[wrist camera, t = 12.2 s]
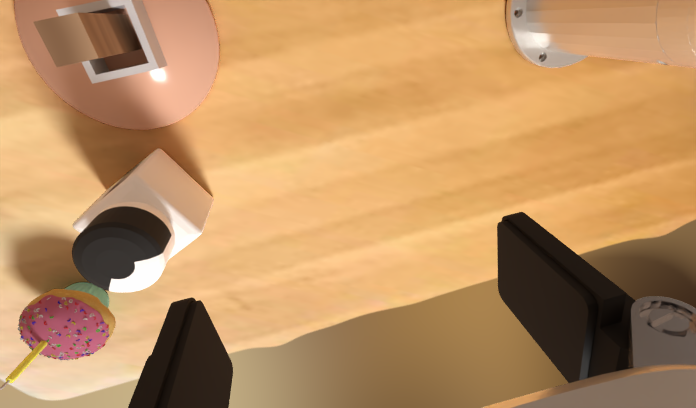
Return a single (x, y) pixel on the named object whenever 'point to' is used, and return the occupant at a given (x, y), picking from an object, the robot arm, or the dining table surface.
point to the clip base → (132, 61)
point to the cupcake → (65, 324)
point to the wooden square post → (86, 36)
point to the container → (140, 225)
